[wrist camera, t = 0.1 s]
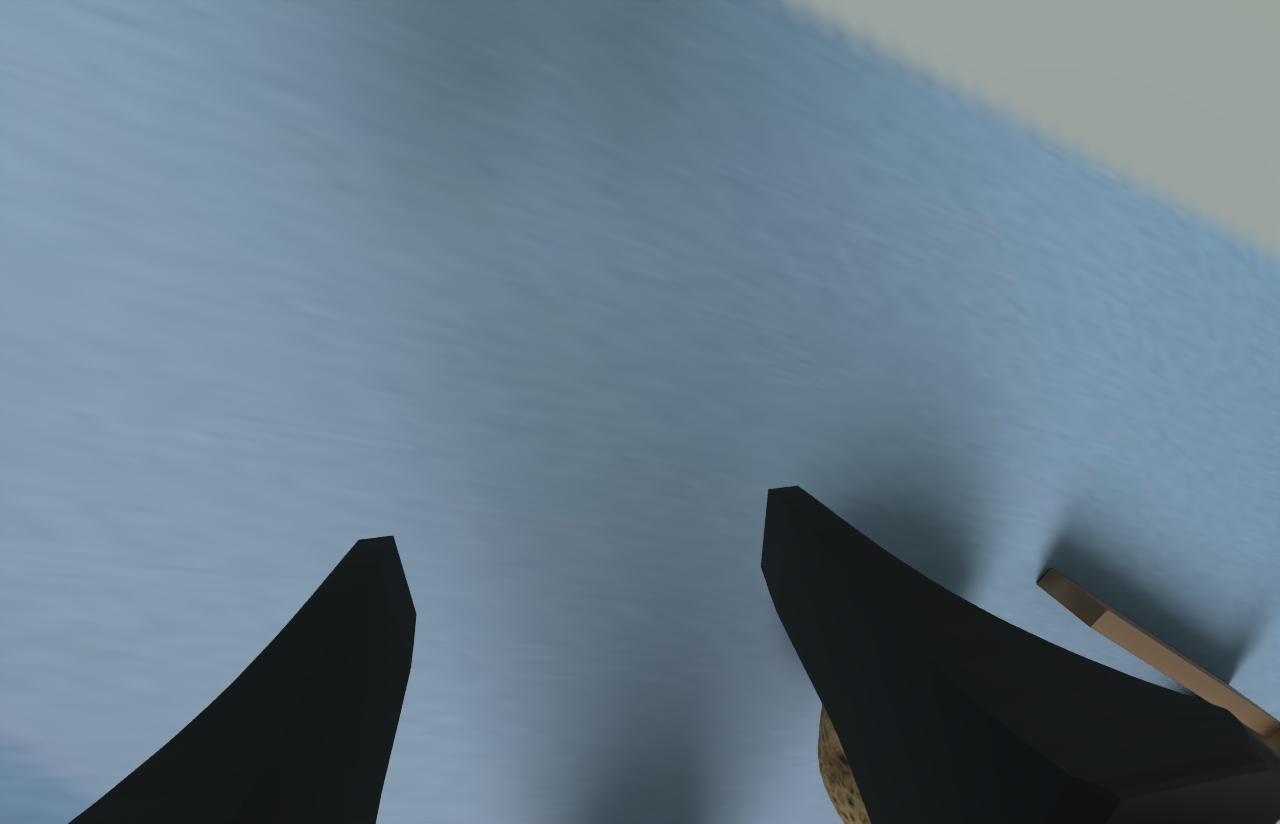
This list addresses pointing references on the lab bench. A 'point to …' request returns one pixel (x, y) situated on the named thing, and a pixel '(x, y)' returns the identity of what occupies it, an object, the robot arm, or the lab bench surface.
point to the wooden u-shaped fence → (1161, 656)
